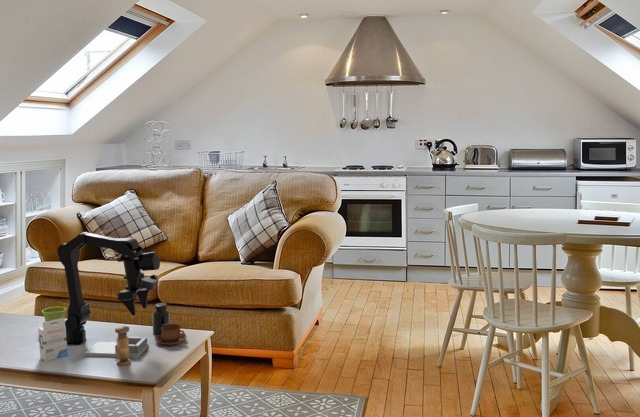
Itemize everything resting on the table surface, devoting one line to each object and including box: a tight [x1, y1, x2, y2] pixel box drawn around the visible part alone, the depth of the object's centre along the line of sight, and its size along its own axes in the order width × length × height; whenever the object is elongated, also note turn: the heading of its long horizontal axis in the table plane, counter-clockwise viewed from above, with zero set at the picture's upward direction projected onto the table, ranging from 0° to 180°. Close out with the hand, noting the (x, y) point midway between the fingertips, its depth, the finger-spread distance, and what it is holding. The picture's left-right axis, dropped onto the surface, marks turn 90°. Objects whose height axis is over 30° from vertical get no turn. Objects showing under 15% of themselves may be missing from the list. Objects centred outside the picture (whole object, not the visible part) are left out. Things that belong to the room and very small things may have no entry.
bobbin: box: [114, 325, 132, 367], centre depth 245 cm, size 5×5×13 cm
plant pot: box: [41, 306, 67, 325], centre depth 282 cm, size 9×9×9 cm
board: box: [84, 336, 150, 358], centre depth 258 cm, size 20×12×4 cm, turn 85°
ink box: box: [37, 317, 68, 362], centre depth 251 cm, size 8×5×15 cm, turn 133°
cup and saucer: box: [154, 323, 187, 346], centre depth 268 cm, size 12×12×6 cm
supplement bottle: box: [152, 302, 171, 336], centre depth 278 cm, size 7×7×12 cm
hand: (139, 311), depth 260 cm, fingers open, 9 cm apart
